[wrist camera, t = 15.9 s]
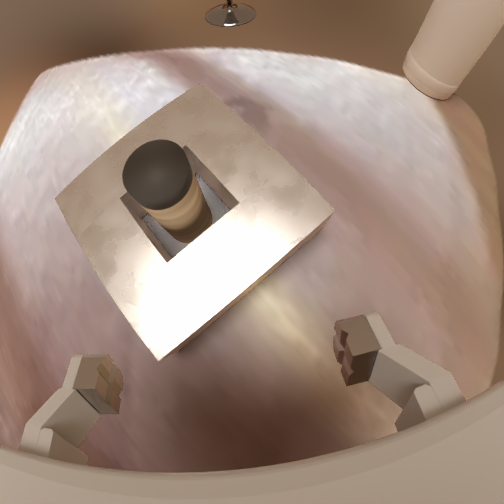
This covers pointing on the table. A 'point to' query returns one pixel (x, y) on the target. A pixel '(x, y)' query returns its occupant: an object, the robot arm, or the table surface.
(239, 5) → the wine glass
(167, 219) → the plug
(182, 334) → the housing
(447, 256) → the table surface
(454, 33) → the bottle
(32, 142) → the table surface
